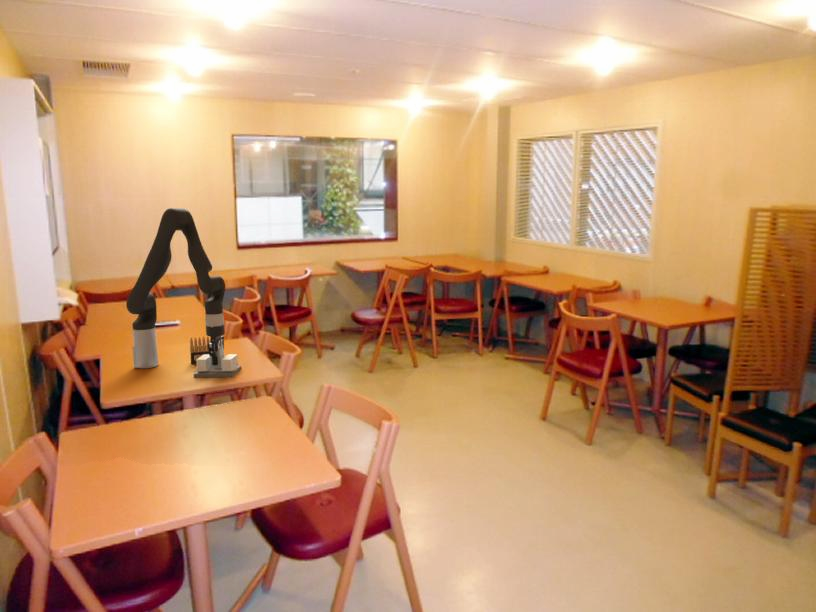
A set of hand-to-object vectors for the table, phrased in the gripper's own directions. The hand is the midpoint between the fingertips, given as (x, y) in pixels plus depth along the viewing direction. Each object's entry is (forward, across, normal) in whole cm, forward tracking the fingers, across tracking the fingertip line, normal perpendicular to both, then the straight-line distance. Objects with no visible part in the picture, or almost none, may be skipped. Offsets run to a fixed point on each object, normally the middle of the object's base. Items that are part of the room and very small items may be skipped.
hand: (217, 363), depth 255 cm
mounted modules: (+2, 0, 0) cm, 2 cm away
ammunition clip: (+5, -18, -13) cm, 23 cm away
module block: (+1, 0, 0) cm, 1 cm away
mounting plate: (+4, 0, 0) cm, 4 cm away
